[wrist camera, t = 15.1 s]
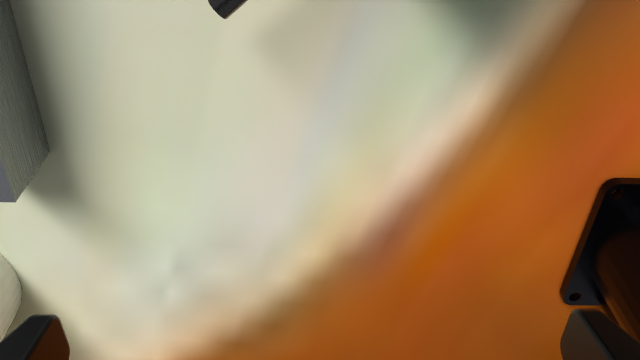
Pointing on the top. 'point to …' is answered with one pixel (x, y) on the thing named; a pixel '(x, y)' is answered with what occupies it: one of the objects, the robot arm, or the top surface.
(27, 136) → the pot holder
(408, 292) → the top surface
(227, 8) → the drinking cup
